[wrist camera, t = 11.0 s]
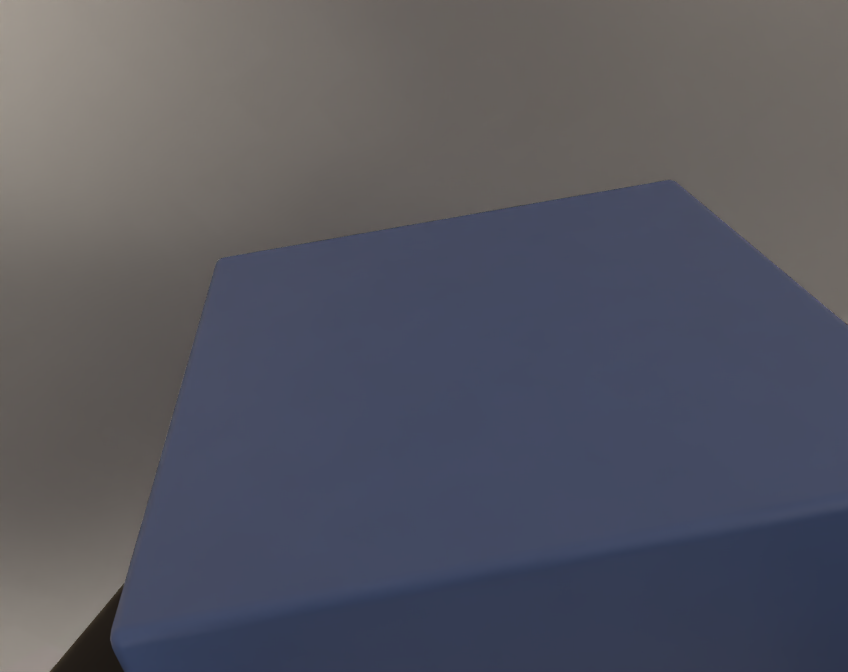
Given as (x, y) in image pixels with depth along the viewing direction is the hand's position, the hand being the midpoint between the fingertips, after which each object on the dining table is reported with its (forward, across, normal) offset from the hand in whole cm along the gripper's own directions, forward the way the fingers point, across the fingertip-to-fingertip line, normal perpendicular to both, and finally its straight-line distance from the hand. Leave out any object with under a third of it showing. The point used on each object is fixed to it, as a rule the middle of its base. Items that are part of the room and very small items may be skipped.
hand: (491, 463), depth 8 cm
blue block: (+1, 0, 0) cm, 1 cm away
